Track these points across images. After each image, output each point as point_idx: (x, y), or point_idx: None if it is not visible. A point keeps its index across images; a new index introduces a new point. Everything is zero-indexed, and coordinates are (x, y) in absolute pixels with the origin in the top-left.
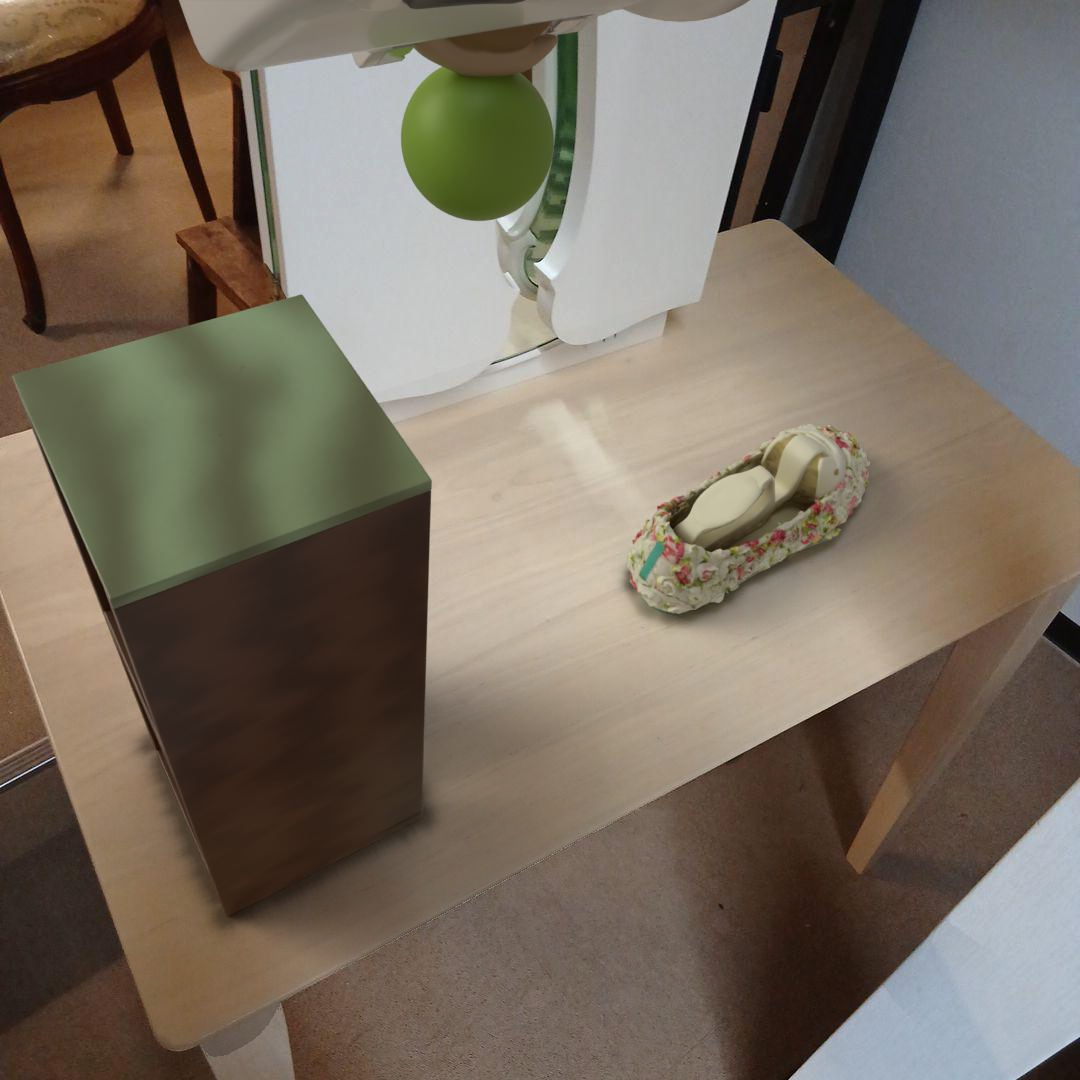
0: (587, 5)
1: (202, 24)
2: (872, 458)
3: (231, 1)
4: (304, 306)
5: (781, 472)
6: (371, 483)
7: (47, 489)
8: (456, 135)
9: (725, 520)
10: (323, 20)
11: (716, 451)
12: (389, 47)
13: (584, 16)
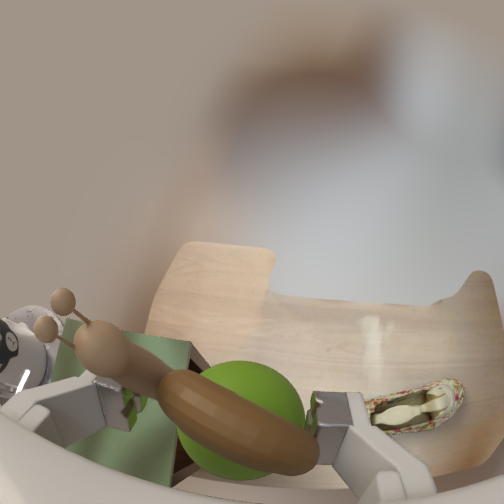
0: None
1: None
2: (466, 396)
3: None
4: (185, 351)
5: (428, 404)
6: (143, 473)
7: (184, 263)
8: (189, 450)
9: (391, 423)
10: None
11: (419, 369)
12: (97, 430)
13: (333, 466)
